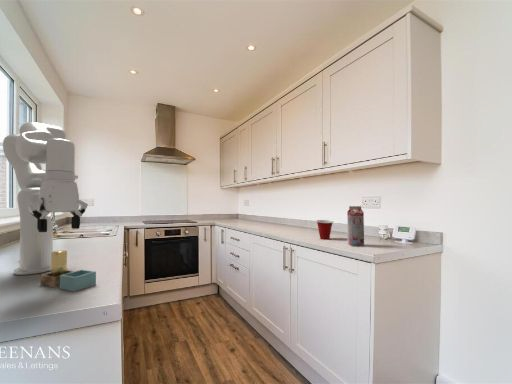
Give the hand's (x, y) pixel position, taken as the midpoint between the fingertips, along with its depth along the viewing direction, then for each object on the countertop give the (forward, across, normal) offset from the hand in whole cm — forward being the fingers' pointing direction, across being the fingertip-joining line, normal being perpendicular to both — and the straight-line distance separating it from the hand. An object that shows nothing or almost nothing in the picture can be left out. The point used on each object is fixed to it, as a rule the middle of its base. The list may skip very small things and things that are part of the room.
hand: (59, 230), depth 82 cm
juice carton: (+18, -102, +88) cm, 136 cm away
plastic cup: (+18, -119, +68) cm, 139 cm away
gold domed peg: (+17, 0, -1) cm, 17 cm away
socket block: (+17, 0, -1) cm, 17 cm away
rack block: (+17, 0, +9) cm, 19 cm away
